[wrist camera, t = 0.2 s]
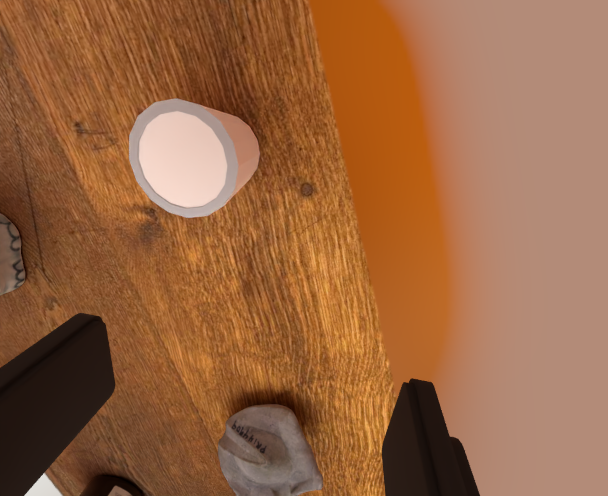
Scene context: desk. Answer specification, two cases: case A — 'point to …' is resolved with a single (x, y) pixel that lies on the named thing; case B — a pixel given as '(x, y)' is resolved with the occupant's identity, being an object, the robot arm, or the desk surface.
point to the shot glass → (191, 156)
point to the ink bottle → (110, 487)
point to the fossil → (267, 453)
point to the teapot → (10, 257)
